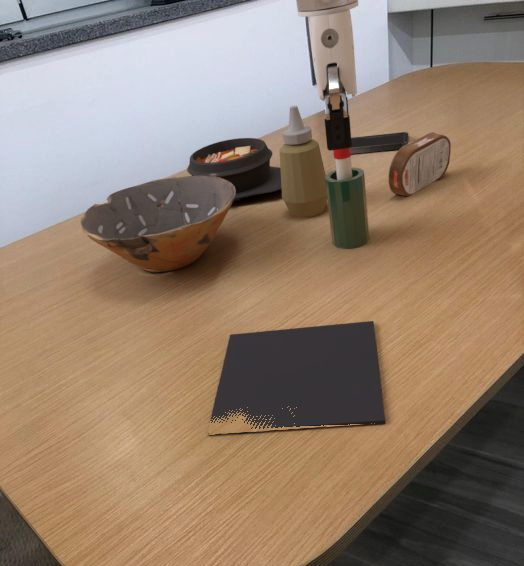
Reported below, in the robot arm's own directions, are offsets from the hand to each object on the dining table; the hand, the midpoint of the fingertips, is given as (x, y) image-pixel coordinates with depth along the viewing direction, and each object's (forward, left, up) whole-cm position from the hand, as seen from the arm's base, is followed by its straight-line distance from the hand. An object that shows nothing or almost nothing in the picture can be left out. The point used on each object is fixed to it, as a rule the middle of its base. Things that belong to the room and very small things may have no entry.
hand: (339, 137), depth 83 cm
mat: (+7, +32, -16) cm, 37 cm away
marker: (0, 0, -16) cm, 16 cm away
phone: (-6, -46, -16) cm, 49 cm away
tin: (-13, -19, -17) cm, 28 cm away
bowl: (+29, -2, -16) cm, 33 cm away
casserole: (+22, -30, -16) cm, 40 cm away
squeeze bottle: (+7, -14, -16) cm, 23 cm away
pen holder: (0, 0, -16) cm, 16 cm away
